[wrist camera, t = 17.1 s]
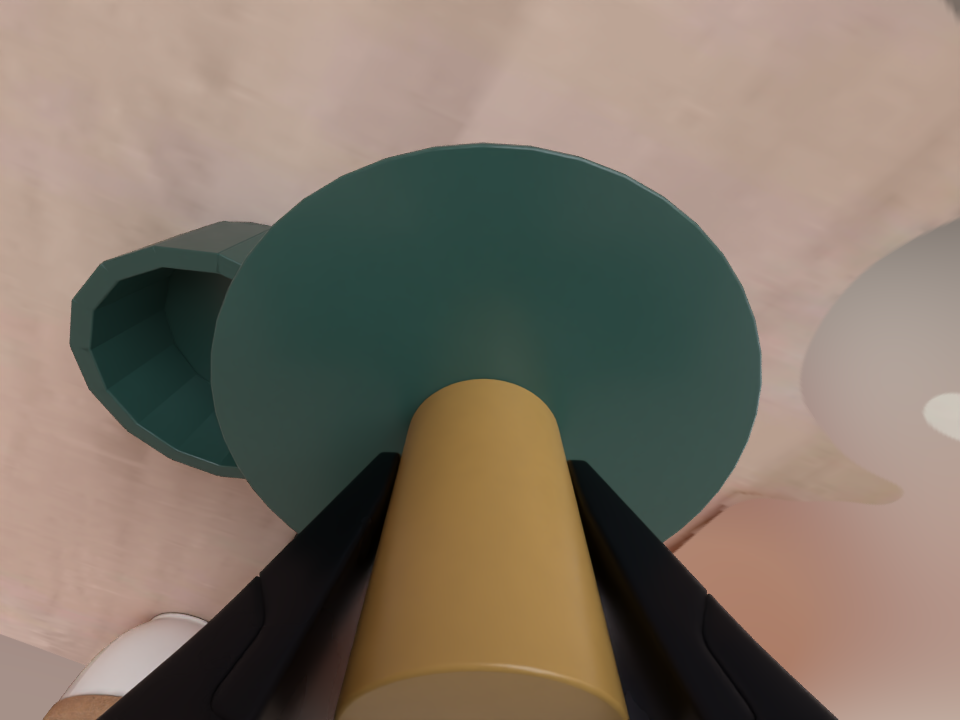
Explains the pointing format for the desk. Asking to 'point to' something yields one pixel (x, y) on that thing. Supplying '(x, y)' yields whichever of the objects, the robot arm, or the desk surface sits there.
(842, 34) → the desk surface
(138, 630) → the trinket box
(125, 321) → the tin
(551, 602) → the lid
